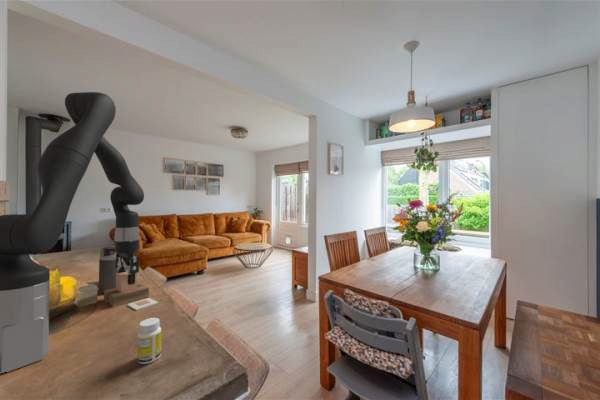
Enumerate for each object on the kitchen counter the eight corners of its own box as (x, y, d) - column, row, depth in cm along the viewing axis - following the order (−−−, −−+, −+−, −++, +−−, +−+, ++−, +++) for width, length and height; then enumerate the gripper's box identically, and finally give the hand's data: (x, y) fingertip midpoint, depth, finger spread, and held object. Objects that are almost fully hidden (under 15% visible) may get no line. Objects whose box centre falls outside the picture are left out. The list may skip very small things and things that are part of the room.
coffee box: (128, 280, 112) (128, 246, 113) (114, 285, 106) (114, 248, 107) (113, 279, 115) (113, 245, 115) (98, 283, 109) (99, 247, 109)
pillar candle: (92, 292, 97) (93, 255, 98) (117, 284, 107) (117, 250, 107) (109, 295, 94) (110, 257, 95) (133, 287, 104) (134, 252, 104)
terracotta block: (136, 288, 92) (136, 272, 92) (121, 292, 88) (121, 275, 88) (131, 286, 95) (131, 270, 95) (115, 289, 91) (115, 273, 91)
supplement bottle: (156, 349, 60) (157, 314, 60) (164, 357, 57) (165, 320, 57) (134, 359, 56) (134, 322, 56) (141, 367, 53) (141, 329, 53)
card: (158, 303, 87) (158, 301, 87) (136, 310, 81) (136, 308, 81) (148, 299, 91) (148, 297, 91) (127, 305, 85) (127, 303, 85)
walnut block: (148, 298, 92) (148, 288, 92) (113, 308, 84) (113, 297, 84) (137, 292, 99) (137, 282, 99) (103, 301, 90) (103, 290, 90)
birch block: (97, 302, 88) (97, 286, 88) (78, 307, 83) (79, 290, 84) (92, 299, 90) (92, 283, 91) (74, 304, 86) (74, 287, 86)
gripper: (107, 238, 93) (107, 281, 92) (123, 242, 85) (122, 288, 84) (130, 236, 99) (129, 276, 98) (146, 239, 91) (146, 283, 91)
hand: (126, 282), depth 91 cm, fingers open, 8 cm apart
